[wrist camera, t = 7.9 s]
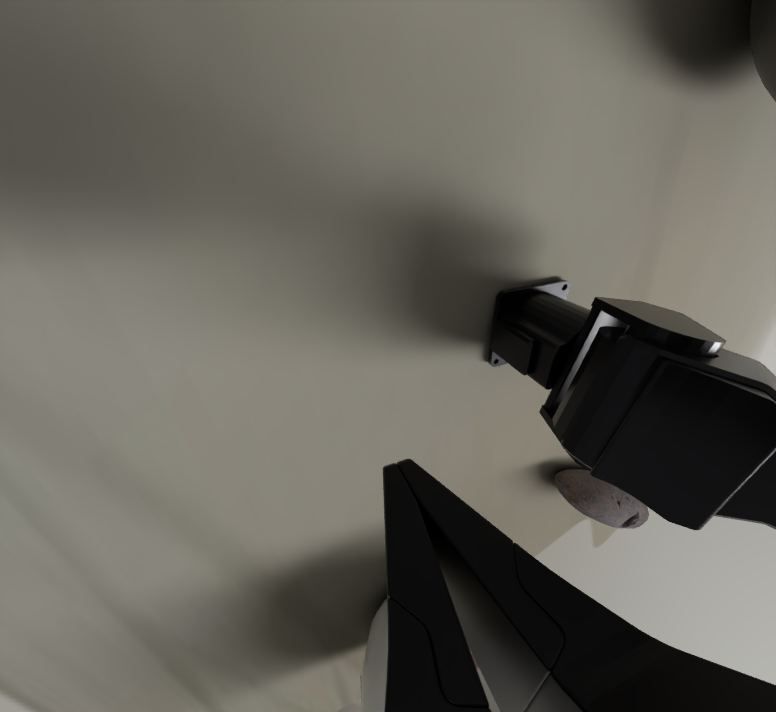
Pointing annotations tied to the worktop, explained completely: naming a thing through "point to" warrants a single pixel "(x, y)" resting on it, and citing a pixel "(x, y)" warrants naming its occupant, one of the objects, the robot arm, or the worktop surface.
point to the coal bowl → (764, 41)
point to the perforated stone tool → (600, 499)
